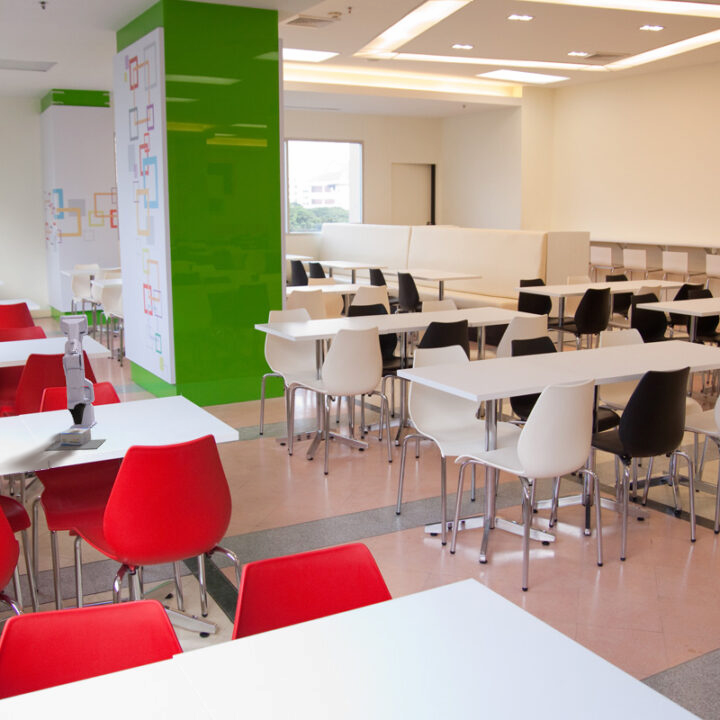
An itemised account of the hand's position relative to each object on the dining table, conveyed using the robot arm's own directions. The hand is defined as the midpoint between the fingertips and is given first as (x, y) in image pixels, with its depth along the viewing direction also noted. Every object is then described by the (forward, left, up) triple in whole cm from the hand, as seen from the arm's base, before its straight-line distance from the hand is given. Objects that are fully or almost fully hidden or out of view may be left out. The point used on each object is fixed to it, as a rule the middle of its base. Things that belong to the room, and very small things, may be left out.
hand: (78, 424), depth 300 cm
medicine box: (-3, 0, -4) cm, 5 cm away
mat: (+5, 0, -7) cm, 8 cm away
